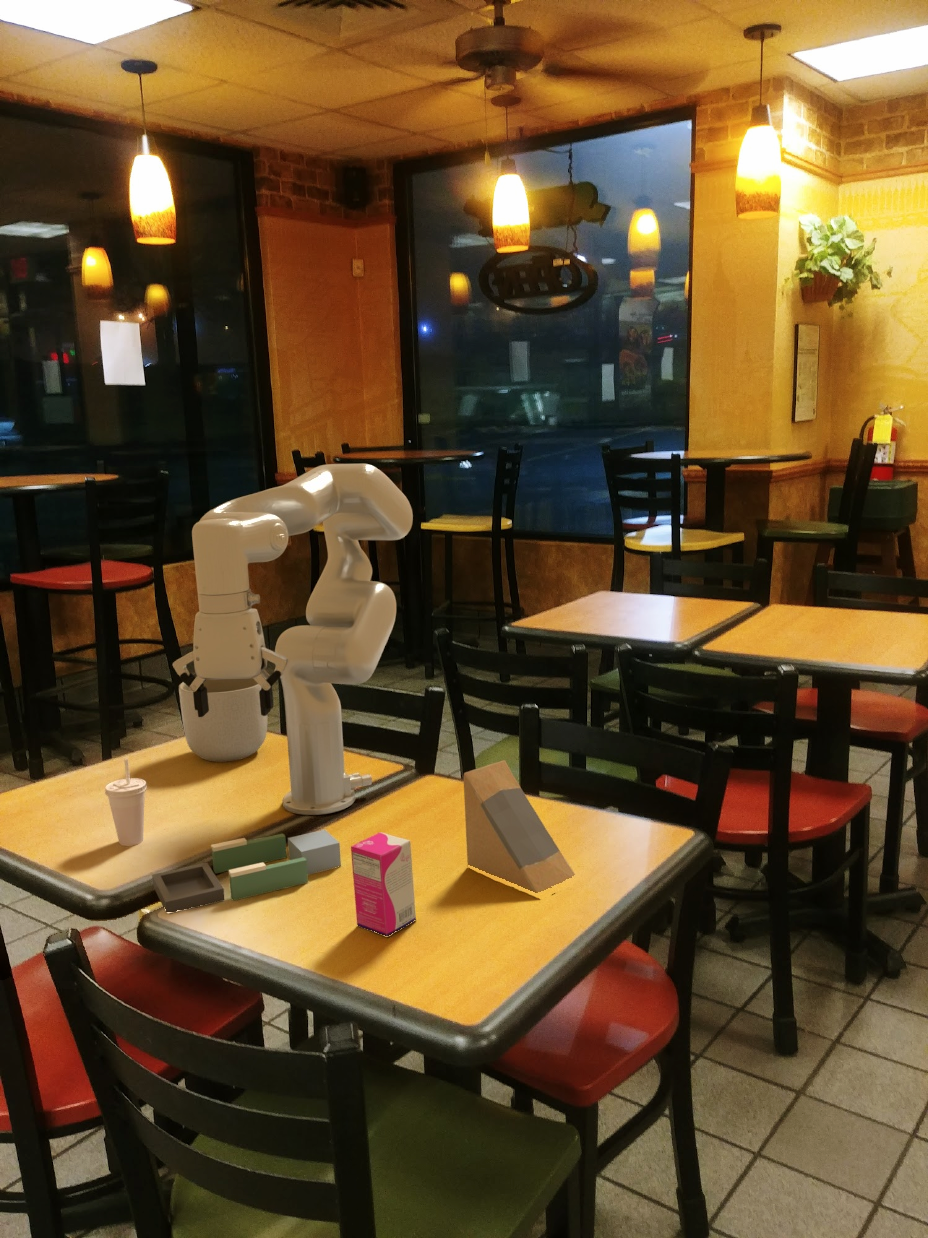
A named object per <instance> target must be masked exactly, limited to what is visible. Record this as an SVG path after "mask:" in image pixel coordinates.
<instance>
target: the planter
mask: <svg viewBox="0 0 928 1238" xmlns="http://www.w3.org/2000/svg"><path fill="white" fill-rule="evenodd" d="M204 686H206V688H207V694H208V705H209V711H208V712H207V713H206V714H205V715H204V716H203V717H198V710H195V707H194V697H193V692H192V691H191V690H190V689H189V687H188V686H187V685H186V684H185V683H184V682H183V681H182V682H181V683H180V684H179V685H178V693H179V703H180V709H181V719H182V725H183V731H184V737H185V741H186V744H187V746H188V747H189V749H190V750H191V752H192V753H194V754H195V755H196V756H198V757H199V758H201V759H203V760H205V761H208V762H219V763H220V762H222V763H223V762H225V763H226V762H232V761H238V760H241V759H246V758H248V757H250V756H252V755H253V754H255V753H256V752H257V751H258V750H259V749H260V748H261V747H262V745H263V744H264V743H265V740H266V737H267V734H268V731H267V730H268V715H267V716H262V715H261V708H260V696H259V691H260V690H261V686H260V685H259V684H258V683H257V682H256V681H255V680H254V679H253V678H247V679H207V680H206V681H205V682H204Z"/></svg>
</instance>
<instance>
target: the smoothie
mask: <svg viewBox="0 0 928 1238" xmlns="http://www.w3.org/2000/svg"><path fill="white" fill-rule="evenodd" d="M123 761H124V771H125V778H122V779H117V780H113V781H112V782H110V783H108V784H106V786H105V787H104V794H105V796H107V798H108V802H109V803H108V804H109V806H110V810H111V814H112V820H113V822H114V823H113V824H114V827H115V830H116V831H115V833H116V835H117V838H118V840H117V841H118V842H119V843H118V844H119V845H120V846H121V847H122V846H123V847H132V846H136V845H140V843H142V842H143V841H144V831H145V829H144V825H145V823H144V822H145V795H146V793H145V791H146V790H147V781H146V780H144V779H142V778H137V777H133V778H132V777H131V776H130V767H129V766H130V765H129V758H124V760H123ZM130 777H131V778H130Z"/></svg>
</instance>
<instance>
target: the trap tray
mask: <svg viewBox="0 0 928 1238" xmlns="http://www.w3.org/2000/svg"><path fill="white" fill-rule="evenodd" d="M151 877H152V887H153V889H154V891H155V893H156V896H157V897H158V899H159V901H160V904H161V905H162V907H163V908H164V907H165V909H166V911H165V913H166V912H174V913H177V912H176V911H177V910H182V911H185V910H184V909H187V910H190V909H189V908H191V907H195V908H199V907H201V906H200V905H203V906H207V905H211V904H216V903H219V902H223V901H225V900H226V898H225V888H224V886H223V885H222V884H221V882H220V881H219V879H218V877H217V876H216V873H215V872H214V870H212V868H211V866H210V865H209V863H208V862H203V863H199V864H194V865H190V866H185V867H181V868H176V869H173V870H172V869H171V870H168V871H163V872H158V873H155V874H151ZM198 906H199V907H198ZM165 909H164V910H165ZM191 909H192V908H191Z"/></svg>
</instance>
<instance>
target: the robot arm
mask: <svg viewBox="0 0 928 1238" xmlns="http://www.w3.org/2000/svg"><path fill="white" fill-rule="evenodd" d="M413 517H414V515H413V508H412V506H411V504H410V501H409V500H408V498H407V496H406V495H405V494H404V493H403V492H402V490H400V488H398V486H397V485H396V484H395V483H394V482H393V481H392V480H391V479H390V477H388V476H387V475H386V474H385V473H384V472H383V471H382V470H380V469H378V468H377V467H376V466H374V465H372V464H368V463H331V464H322V465H318V466H316V467H314V468H312V469H310V470H309V471H307V472H304V473H303V474H301V475H299V476H297V477H296V478H294V479H293V480H291V481H288V482H287V483H285V484H283V485H280V486H275V487H272V488H268V489H265V490H262V491H258V492H254V493H252V494H248V495H244V496H241V497H237V498H234V499H231V500H229V501H226V502H224V503H222V504H219V505H218V506H216V507H214V508H213V509H210V510H209V511H207V512H206V513H204V515H203V516H202V517H201V518H200V520H199V521H197V522H196V523H195V524H194V525H193V527H192V530H191V537H192V547H193V548H192V549H193V558H194V569H195V578H196V580H195V581H196V589H197V600H198V611H197V612H196V614H195V616H194V625H193V639H192V640H193V643H192V644H193V650H192V651H191V652H190V651H189V653H187V654H185V655H183V656H182V657H179V658H178V659H176V660H175V661H174V662H172V667H173V669H174V670H175V672H176V674H177V675H178V676H179V679H180V681H182V682H184V683H185V684H186V685H187V686H188V687H189V689H190V690H191V691H192V692H193V697H194V707H195V710H198V717H203V716H204V715H205V714H206V713H207V712H208V711H209V705H208V694H207V688H206V686H204V682H205V681H206V680H207V679H247V678H253V679H254V680H255V681H256V682H257V683H258V684H259V685H260V686H261V690H260V691H259V696H260V708H261V715H262V716H267V717H268V714H269V713H270V712H271V711H272V709H273V708H274V692H273V691H274V690H273V685H274V684H275V683H276V682H278V680H279V679H280V681H281V685H282V686H281V687H282V690H283V698H284V699H283V701H284V710H285V722H286V725H285V726H286V737H287V738H286V740H287V751H288V752H287V754H288V755H287V756H288V766H289V767H288V768H289V779H290V780H289V782H290V791H289V792H287V793H286V794H285V795H284V796H283V798H282V806H283V808H284V809H285V810H286V811H287V812H290V813H293V814H298V815H305V816H316V815H317V816H320V815H327V814H333V813H336V812H337V813H338V812H340V811H343V810H345V809H346V808H348V807H350V806H352V805H353V804H354V802H355V801H356V793H355V790H356V788H357V787H358V788H359V787H366V786H371V785H372V783H373V778H372V775H371V774H370V773H369V774H368V773H367V774H362V775H360V773H359V772H356V773H351V774H347V772H345V759H344V756H345V755H344V739H343V737H344V736H343V723H342V722H343V721H342V705H341V700H340V698H339V696H338V694H337V691H336V690H335V688H334V686H333V685H332V684H339V685H342V684H343V685H359V684H363V683H365V682H367V681H368V680H369V679H370V678H371V677H372V676H373V674H374V672H375V670H376V668H377V666H378V664H379V661H380V659H381V657H382V654H383V652H384V649H385V646H387V643H388V640H389V637H390V635H391V634H392V631H393V628H394V625H395V622H396V616H397V600H396V596H395V593H394V591H393V590H392V588H391V587H390V586H389V585H387V584H386V583H383V582H381V581H375V580H374V581H373V580H371V579H372V576H373V567H372V564H371V561H370V559H369V558H368V555H367V554H366V553H365V552H364V550H363V549H362V548H361V545H360V542H359V541H398V540H401V539H404V538H405V536H407V535H408V534H409V532H410V531H411V529H412V526H413V520H414V519H413ZM321 523H322V526H323V532H324V538H325V542H326V549H327V550H326V551H327V560H326V563H325V566H324V568H323V570H322V572H321V575H320V577H319V578H318V580H317V583H316V584H315V586H314V588H313V591H312V592H311V594H310V597H309V599H308V600H307V605H306V609H305V617H306V621H307V623H308V624H309V625H307V624H306V625H296V626H292V627H289V628H287V629H286V630H284V631H283V632H282V633H281V634H280V635H279V636H278V638H277V641H276V645H275V649H274V651H273V650H271V649H269V648H267V647H266V644H265V636H264V631H263V627H262V622H261V619H260V615H259V612H258V609H257V608H252V607H253V605H255V604H260V603H261V596H260V594H259V593H258V594H255V593H253V592H252V589H251V588H250V578H249V568H248V565H249V564H251V563H266V562H267V563H268V562H270V561H274V560H276V559H278V558H279V557H280V556H281V555H282V554H283V553H284V552H285V550H286V548H287V546H288V543H289V538H290V536H295V535H301V534H304V533H307V532H309V531H311V530H313V529H314V528H316V527H317V526H319V525H320V524H321ZM192 662H193V664H194V665H193V667H194V672H195V675H196V676H195V675H194V674H193V673H192V672H190V671H189V670H188V668H187V665H188V664H190V663H192ZM268 662H270V663H272V664H274V665H275V668H274V671H273V672H272V674H269V673H268V672H267V670H266V669H267V667H268Z"/></svg>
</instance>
